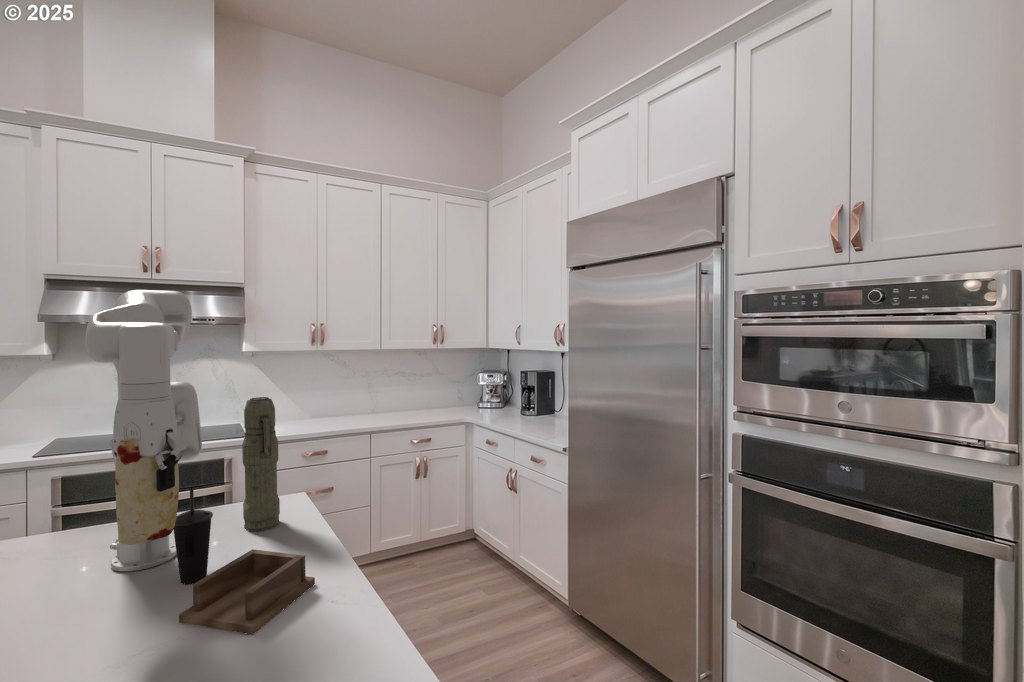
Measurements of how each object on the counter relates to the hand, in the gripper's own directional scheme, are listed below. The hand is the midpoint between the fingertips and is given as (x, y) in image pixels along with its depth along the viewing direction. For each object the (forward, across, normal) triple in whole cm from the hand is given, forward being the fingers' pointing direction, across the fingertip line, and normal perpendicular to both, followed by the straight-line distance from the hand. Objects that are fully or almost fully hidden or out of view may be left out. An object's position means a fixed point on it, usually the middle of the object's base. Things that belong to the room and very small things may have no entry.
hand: (148, 486), depth 94 cm
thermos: (+26, -12, +43) cm, 52 cm away
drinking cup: (+26, -5, +14) cm, 30 cm away
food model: (+10, 0, 0) cm, 10 cm away
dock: (+25, +14, +9) cm, 30 cm away
